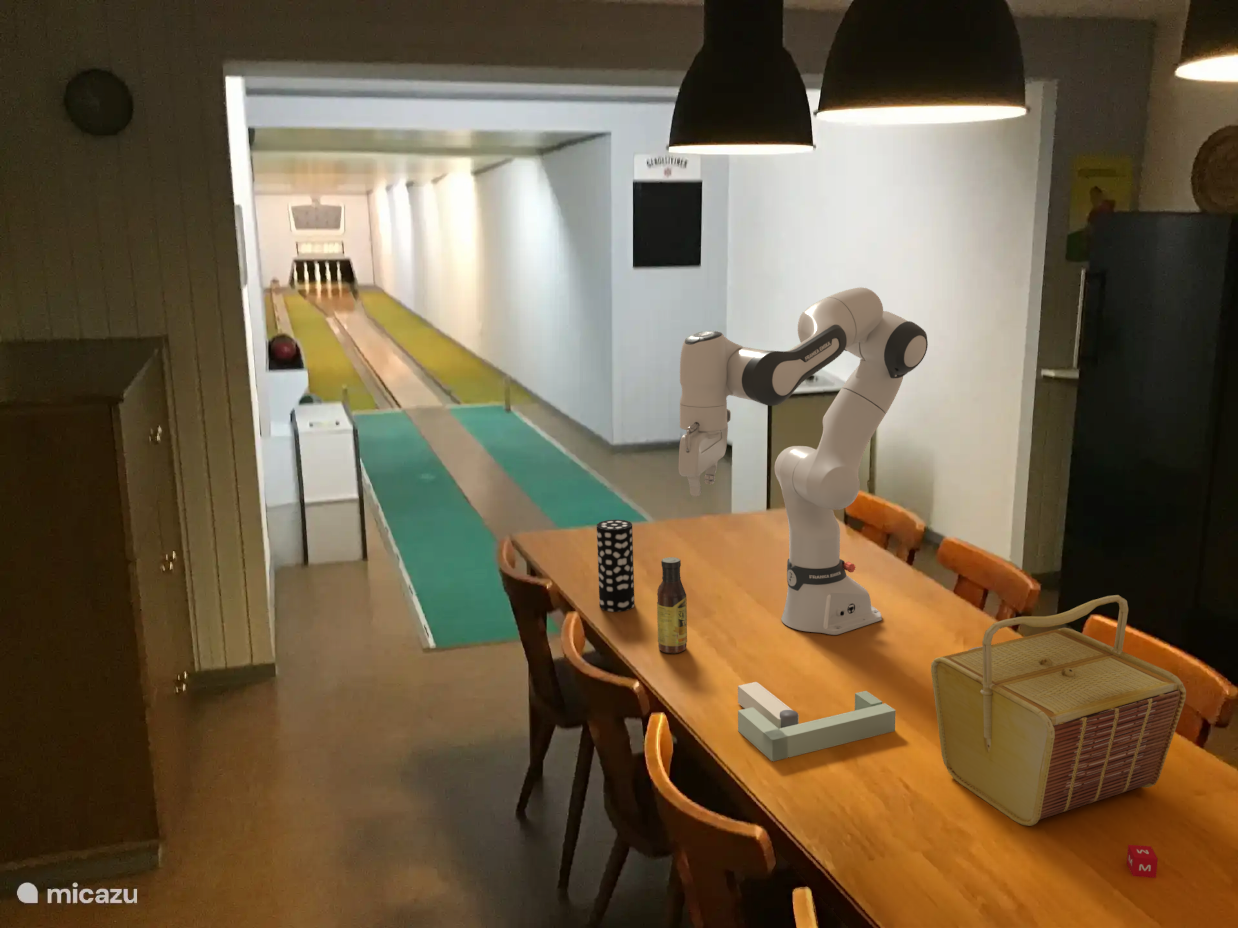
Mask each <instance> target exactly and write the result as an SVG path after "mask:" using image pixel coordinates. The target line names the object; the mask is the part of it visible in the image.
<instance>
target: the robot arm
mask: <svg viewBox="0 0 1238 928" xmlns="http://www.w3.org/2000/svg"><path fill="white" fill-rule="evenodd" d="M797 335H798V338H799V341H800V342H799V344H797V345H796V346H794V347H793V348H790V349H789V350H783V351H782V350H781V351H779V350H765V349H759V348H751V347H747V346H743V345H741V344H737V343H736V342H733V341H732V340H730V339H728V338H727V337H726V336H724V334H723V333H722V332H721V331H716V330H715V331H714V330H708V331H700V332H696V333H693V334H690V335H689V336H687V337H686V338H685V340H684V341H683V343H682V347H681V352H680V358H679V359H680V361H679V383H680V386H681V396H680V399H679V428H680V429H681V430H685V431H686V432H685V433H684V434H683V435H682V436H681V438H680V442H679V449H678V450H679V452H678V473H679V475H680V476H681V477H685V478H686V477H687V482H688V485H689V486H688V487H689V495H690V496H691V497H699V496H700V495H701V494H702V485H701V482H700V479H701V475H702V474H703V473H705V475H704V484H705V485H709V486H711V485H714V483H715V482H716V473H717V468H718V461H719V460H720V459H722V458H723V457H724V456H725V454H726V450H727V446H728V444H727V443H728V432H729V429H728V428H729V424H728V423H729V422H730V421H731V414H732V413H731V410H730V409H728V407H727V406H728V404H727V403H728V402H727V401H728V399H727V398H728V396H733V397H736V398H739V399H745V400H750V401H753V402H757V403H759V404H762V405H765V406H769V407H770V406H771V407H773V406H779V405H781V404H783V403H784V402H785V401H787V400H788V399H789V398H790V397H791V396H792V395H793V394H794V392H795V391H796V390H797V389H798V388H799V386H800V385H801V384H802V383H803V382H804V381H806V380H807V379H809V378H810V377H812V376H813V375H814V374H816V373H817V372H819V371H820V370H822V369H823V368H825V367H826V366H828V365H829V364H830V363H832V362H834V361H835V360H836V359H838V358H839V357H840V356H841V355H842V354H843V353H844V352H849V353H850V354H852V355H853V356H855V357H857V358H859V359H860V360H859V365H858V366H857V367H856V368H855V369H854V370H853V372H852V373H851V374H850V375H849V377H848V378H847V380H846V381H845V382H844V384H843V385H842V387H841V388H840V390H839V392H838V393H837V395H836V396H835V398H834V400H833V401H832V403H831V404H830V405H829V407H828V409H827V410H826V412H825V414H823V415H824V416H823V417H822V427H823V428H822V435H821V438H820V441H819V444H818V446H817V447H816V448H813V447H811V446H805V445H792V446H789V447H786V448H784V449H783V450H782V451H780V453H779V454H778V455H777V458H776V460H775V462H774V475H775V476H776V480H777V481H778V483H779V485H780V488H781V493H782V497H783V501H784V507H785V513H786V517H787V522H788V541H789V543H788V546H789V547H788V554H789V555H788V556H789V557H788V559H787V562H786V581H787V591H786V592H787V594H786V599H785V605H784V609H783V611H782V615H781V623H783V624H784V625H786V626H787V627H789V628H792V629H793V630H798V631H803V632H807V633H810V632H811V633H820V634H821V633H822V634H827V635H832V636H837V635H841V634H843V633H847V632H850V631H853V630H855V629H860V628H862V627H865V626H868V625H871V624H873V623H877V622H880V621H882V619H883V618H882V612H881V611H879V610H878V609H877V608H876V607H874V606H873V605H872V602H871V597H870V594H869V591H868V590H867V589H866V588H865V587H864V586H863V585H861V584H860V583H859V582H857V581H856V580H854V579H853V578H851V576H849V575H847V572H848V573H854V572H855V570H856V565H855V564H854V563H852V562H850V561H846V562H845V560H843V559H841V558H840V554H841V545H840V544H841V527H840V524H839V521H838V520H837V518H836V516H835V512H834V510H842V509H845V508H847V507H849V506H851V505H852V504H853V503H854V502H855V500H856V499H857V497H858V495H859V492H860V487H861V486H860V485H861V484H860V478H859V471H860V467H861V463H862V459H863V456H864V453H865V452H866V449H867V446H868V445H869V442H870V440H871V439H872V438H873V436H874V434H875V432H876V430H877V429H878V427H879V425H880V424H881V422H882V421H883V419H884V418H885V416H886V415H887V413H888V411H889V409H890V408H891V406H892V404H893V403H894V400H895V399H896V397H897V394H898V392H899V390H900V387H901V385H902V382H903V379H904V376H905V375H908V373H910V372H912V371H914V370H915V369H916V368H917V367H918V366H919V365H920V363H922V362H923V360H924V358H925V356H926V353H927V351H928V346H929V343H928V335H927V333H926V331H925V329H923V328H922V327H921V326H920V325H918V324H916V323H915V322H913V321H910V320H909V321H908V320H906V319H905V318H903V317H901V316H899V315H897V314H895V313H892V312H889V311H887V310H886V311H885V310H884V306H883V303H882V301H881V299H880V297H879V295H877V294H876V292H874V291H873V290H872V289H869V288H867V287H862V286H861V287H860V286H859V287H854V288H850V289H846V290H842V291H839V292H837V293H834V294H831V295H829V296H827V297H825V298H822V299H820V300H818V301H817V302H815V303H813V304H811V305H810V306H808V307H807V308H806V309H805V310H804V311H802V313H800V316H799V319H798V324H797ZM846 571H847V572H846Z"/></svg>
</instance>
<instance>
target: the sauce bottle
mask: <svg viewBox="0 0 1238 928" xmlns="http://www.w3.org/2000/svg"><path fill="white" fill-rule="evenodd" d="M660 563H661V564H660V565H661V567H662V576H661V579H662V581H661V583H660V584H659V586H658V588H657V594H656V595H657V601H656V611H657V613H656V615H657V616H656V617H657V642H658V645H657V646H658V649H659V650H660V651H661V652H662V653H665V654H678V653H682V652H684V651H685V650H686V649H687V646H688V645H687V643H688V618H687V617H688V610H687V606H688V605H687V593H686V591H685V588H684V585H683V583H682V579H681V566H682V565H681V564H682V563H681V559H680V558H678V557H675V556H674V557H672V556H671V557H670V556H669V557H664V558H662V559H661V561H660Z"/></svg>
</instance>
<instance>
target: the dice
mask: <svg viewBox="0 0 1238 928" xmlns="http://www.w3.org/2000/svg"><path fill="white" fill-rule="evenodd" d="M1126 853H1127V855H1126V865H1127V868H1128V870H1129V872H1130V874H1131V877H1143V878H1152V879H1153V878H1155V879H1156V878H1157V872H1158V871H1157V869H1158V860H1159V859H1158V857H1157V855H1156V853H1155V850H1154V849H1153V848H1152V845H1137V844H1136V845H1135V844H1127V852H1126Z"/></svg>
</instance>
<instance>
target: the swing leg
mask: <svg viewBox="0 0 1238 928" xmlns="http://www.w3.org/2000/svg"><path fill="white" fill-rule="evenodd" d="M737 703H738V704H739V705H740V706H741V707H742V708H743V709H747V708H751V707H753V708H754V709H756V710H757V711H758V712H759V713H760V714H762V715H763V716H764V717H765V718H766V719H768V720H769V721H770V722H771V723H772V724H774V725H775V726H776V727H777V728H778V729H780V728H784V727H788V726H792V725H796V724H800V723H799V722H800V721H799V719H800V718H799V717H800V715H799V713H798V712H797V711H796V710H793V709H792V708H791V707H789V706H788V705H787V704H785V703H784V702H783V701H782V700H781V699H779V698H778V697H777V696H776V695H774V694H773V693H772V692H771V691H769V690H768V689H767V688H765V687H764V686H763V685H762V684H760V683H759V682H758V681H754V682H753V681H752V682H749V683H744V684H740V685H737Z"/></svg>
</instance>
